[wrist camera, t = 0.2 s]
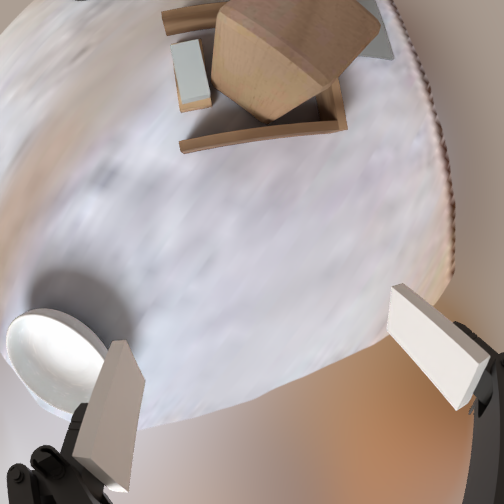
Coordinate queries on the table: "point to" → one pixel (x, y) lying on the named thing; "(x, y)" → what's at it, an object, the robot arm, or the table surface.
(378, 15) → the mat
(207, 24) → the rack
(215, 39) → the wooden block
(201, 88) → the offcut slab upper
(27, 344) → the serving bowl
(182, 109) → the offcut slab lower
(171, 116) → the table surface
